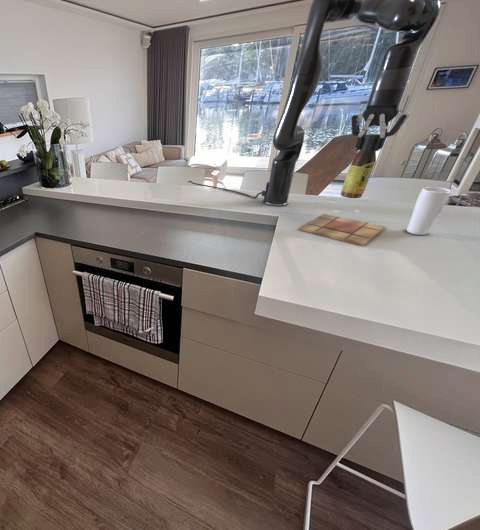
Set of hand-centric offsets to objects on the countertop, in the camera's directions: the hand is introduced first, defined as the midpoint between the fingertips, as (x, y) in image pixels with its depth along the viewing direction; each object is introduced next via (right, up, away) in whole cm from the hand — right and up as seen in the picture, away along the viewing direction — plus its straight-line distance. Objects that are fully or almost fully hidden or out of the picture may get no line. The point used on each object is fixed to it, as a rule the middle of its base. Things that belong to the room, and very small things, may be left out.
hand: (367, 149), depth 92 cm
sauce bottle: (+1, -13, +8) cm, 15 cm away
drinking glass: (+24, -26, +8) cm, 36 cm away
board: (+2, -24, +14) cm, 28 cm away
